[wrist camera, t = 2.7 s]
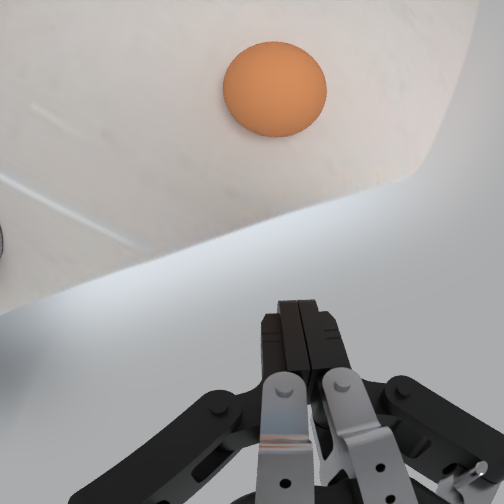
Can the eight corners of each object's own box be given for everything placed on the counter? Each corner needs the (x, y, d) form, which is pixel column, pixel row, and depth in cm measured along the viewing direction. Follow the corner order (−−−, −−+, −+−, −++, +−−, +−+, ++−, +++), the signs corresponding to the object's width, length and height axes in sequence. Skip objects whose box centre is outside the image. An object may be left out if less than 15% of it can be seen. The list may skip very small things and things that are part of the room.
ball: (286, 148, 19) (301, 164, 14) (210, 107, 18) (196, 107, 12) (329, 81, 17) (360, 72, 11) (254, 38, 15) (257, 11, 10)
